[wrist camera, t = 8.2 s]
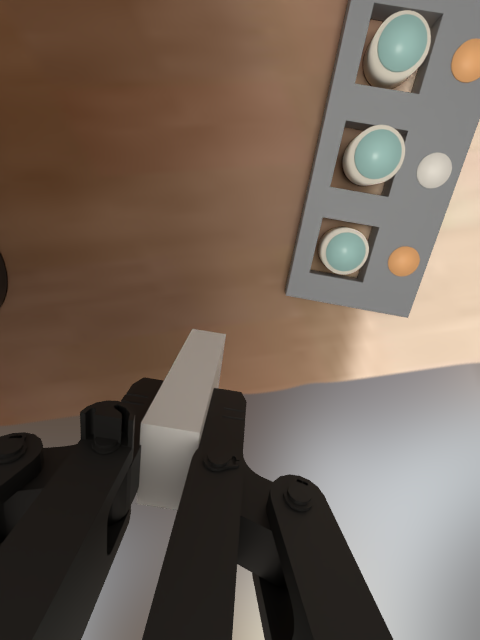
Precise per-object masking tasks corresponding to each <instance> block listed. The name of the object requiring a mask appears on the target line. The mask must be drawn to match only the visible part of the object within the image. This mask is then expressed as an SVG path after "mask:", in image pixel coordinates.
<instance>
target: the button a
mask: <svg viewBox="0 0 480 640" xmlns="http://www.w3.org/2000/svg"><path fill="white" fill-rule="evenodd" d="M368 253H369V246H368V242H367V240H366V238H365V236H364V235H363V234H362V233H361V232H359V231H357V230H355V229H351V228H347V227H335V228H332V229H330V230H328V231H327V232H326V233H325V234H324V235H323V236H322V238H321V239H320V241H319V245H318V255H319V258H320V260H321V261H322V263H323V264H324V265H325V266H326V267H327V268H328V269H329V270H331V271H332V272H334V273H337V274H350V273H353V272H355V271H357V270H358V269H360V268H361V267H362V266H363V264H364V263H365V261H366V260H367V257H368Z"/></svg>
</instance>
